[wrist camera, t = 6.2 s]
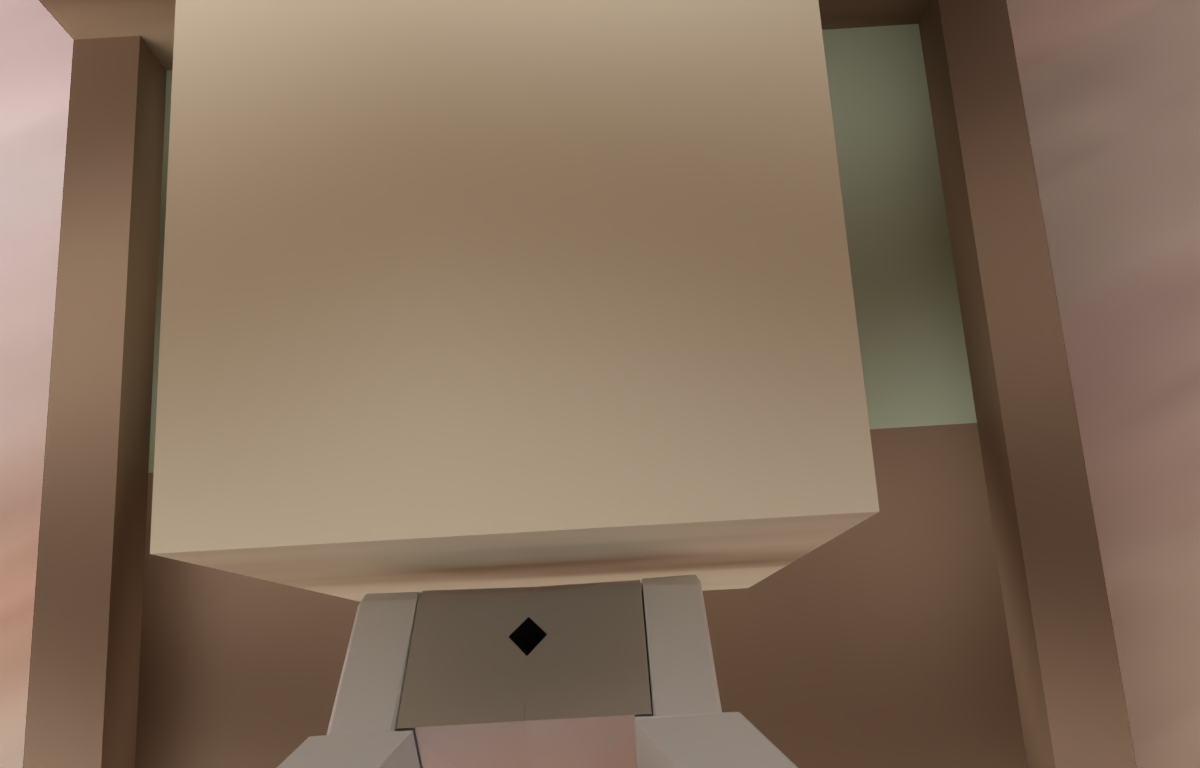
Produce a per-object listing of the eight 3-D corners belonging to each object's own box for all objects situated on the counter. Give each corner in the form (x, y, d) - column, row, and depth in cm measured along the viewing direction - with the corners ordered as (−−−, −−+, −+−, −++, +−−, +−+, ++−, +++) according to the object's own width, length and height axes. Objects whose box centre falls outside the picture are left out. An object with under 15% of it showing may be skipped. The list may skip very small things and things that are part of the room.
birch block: (388, 272, 16) (179, -76, 9) (718, 252, 16) (803, -114, 9) (390, 608, 15) (148, 553, 7) (748, 588, 15) (879, 510, 7)
